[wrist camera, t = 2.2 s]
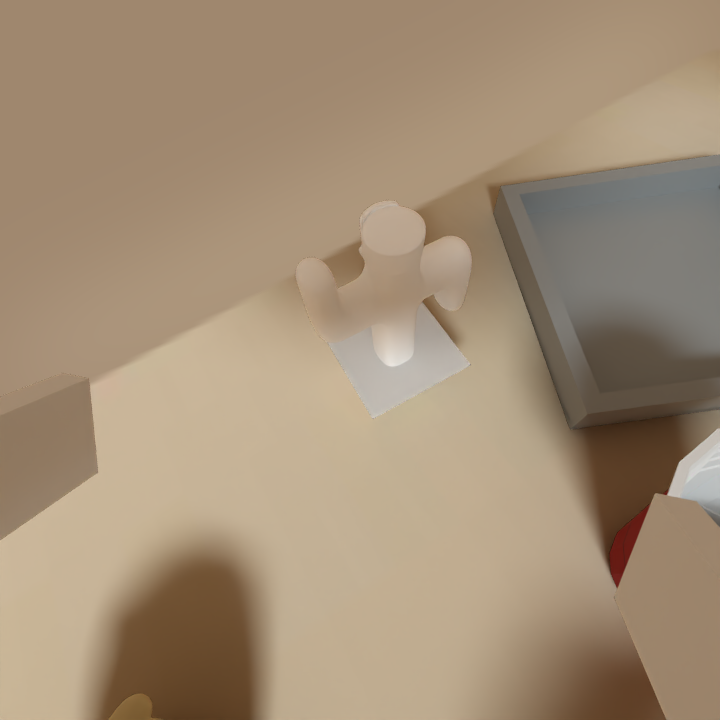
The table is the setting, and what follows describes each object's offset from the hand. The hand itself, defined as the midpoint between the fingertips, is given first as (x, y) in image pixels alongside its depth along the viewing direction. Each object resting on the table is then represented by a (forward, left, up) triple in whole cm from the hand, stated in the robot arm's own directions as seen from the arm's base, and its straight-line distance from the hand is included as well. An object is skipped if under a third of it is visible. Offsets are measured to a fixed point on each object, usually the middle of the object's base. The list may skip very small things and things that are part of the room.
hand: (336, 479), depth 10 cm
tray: (-24, -15, -19) cm, 34 cm away
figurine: (-3, -11, -19) cm, 22 cm away
